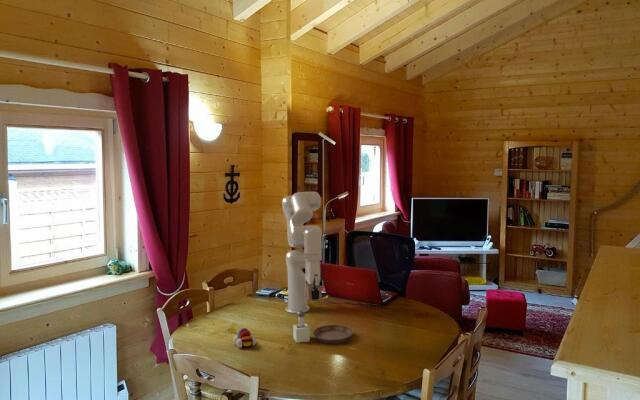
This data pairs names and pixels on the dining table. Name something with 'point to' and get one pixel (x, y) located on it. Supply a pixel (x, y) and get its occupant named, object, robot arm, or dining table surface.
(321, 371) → the dining table surface
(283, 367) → the dining table surface
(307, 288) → the narrow block
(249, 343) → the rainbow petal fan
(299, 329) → the wide bore block
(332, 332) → the plant saucer
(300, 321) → the cylinder
